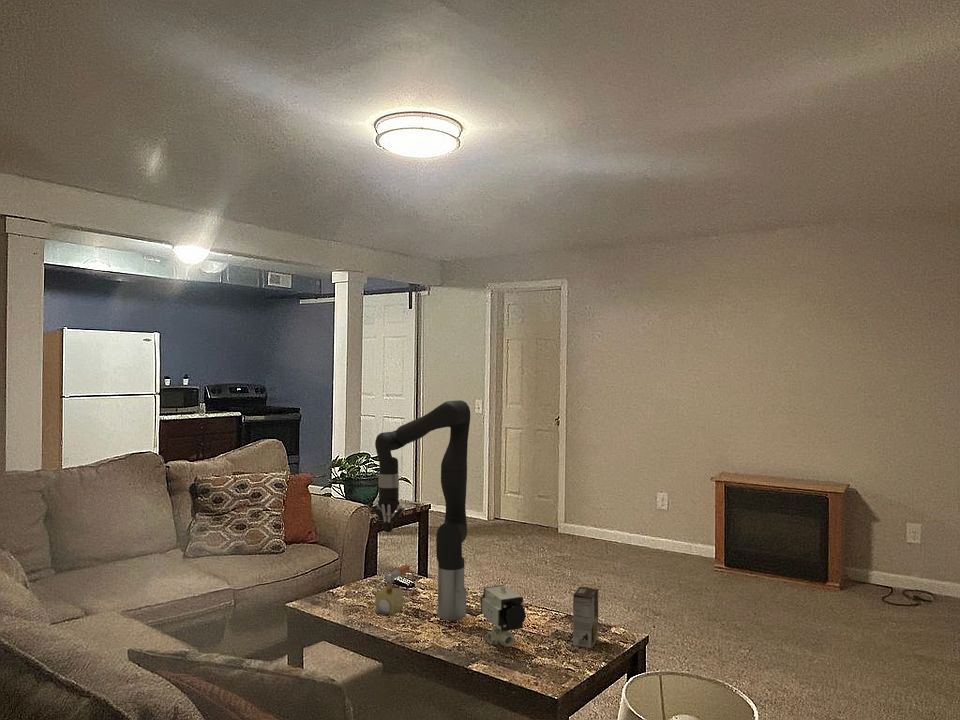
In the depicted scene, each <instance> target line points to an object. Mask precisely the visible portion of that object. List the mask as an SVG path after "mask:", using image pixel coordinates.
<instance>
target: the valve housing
mask: <svg viewBox="0 0 960 720" xmlns="http://www.w3.org/2000/svg"><path fill="white" fill-rule="evenodd" d="M403 602H404V590H403V589H401V588H395V587H393V582H391V583H388V582H386V586H385V587H382V589H380V590H378V591H376V592H375V606H374V607H375V609H374V610H375V613H378V614H380V615H383V616H384V615H388V616H394V615H395V614H397V613H399V612H401V610H403V608H404V607H403V606H404V605H403V604H404V603H403Z"/></svg>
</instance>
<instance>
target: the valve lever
mask: <svg viewBox="0 0 960 720" xmlns="http://www.w3.org/2000/svg"><path fill="white" fill-rule="evenodd" d="M410 568H411V567H410V564H409V565H408V564H403V565H401V566H399V567H398V568H396V570H394V571H392V572H385V573H384V582H385V583H387V582H388V583H391V582H392V583H394V582H395V579H396V578H399V577H402V576H404V575H406V574H407V573H409V572H410Z"/></svg>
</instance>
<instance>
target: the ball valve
mask: <svg viewBox="0 0 960 720" xmlns="http://www.w3.org/2000/svg"><path fill="white" fill-rule="evenodd" d="M480 613H481V614H483V618H485V619H486V620H487V621H489V623H491V624H492V625H493V626H492V628H491V630H488V631H487V634H486V639H487V642H488V644H490V645H493V646H496V645H497V646H498V645H502V646H503V647H505V648H508V647H512V646H513V645H514V642H515V637H514V634H513V633H512V632H511V631H513V630H519V629H523V628H524V623H525V620H526V610H525V608H524V597H523V596H521V595H520V594H518V593H517V592H515V591H513V590H512V589H510V588H509V587H507V586H506V585H504V584H501V585H500V584H499V585H494V586H493V585H492V586H487V587H483V594H482V596H481V597H480Z"/></svg>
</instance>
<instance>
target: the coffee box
mask: <svg viewBox="0 0 960 720" xmlns="http://www.w3.org/2000/svg"><path fill="white" fill-rule="evenodd" d="M572 596H573V598H572V599H573V600H572V601H573V605H572V607H573V609H572V610H573V611H572V613H573V615H572V645H573V646H577V647H582V648H588V649H592V648H593V647H594V645H595V643H596V642H597V640H598V639H599V589H598V588H592V587H587V586H586V587H585V586H579V587H578V589H577V590H576V591H575V592H574V593H573V595H572Z"/></svg>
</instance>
